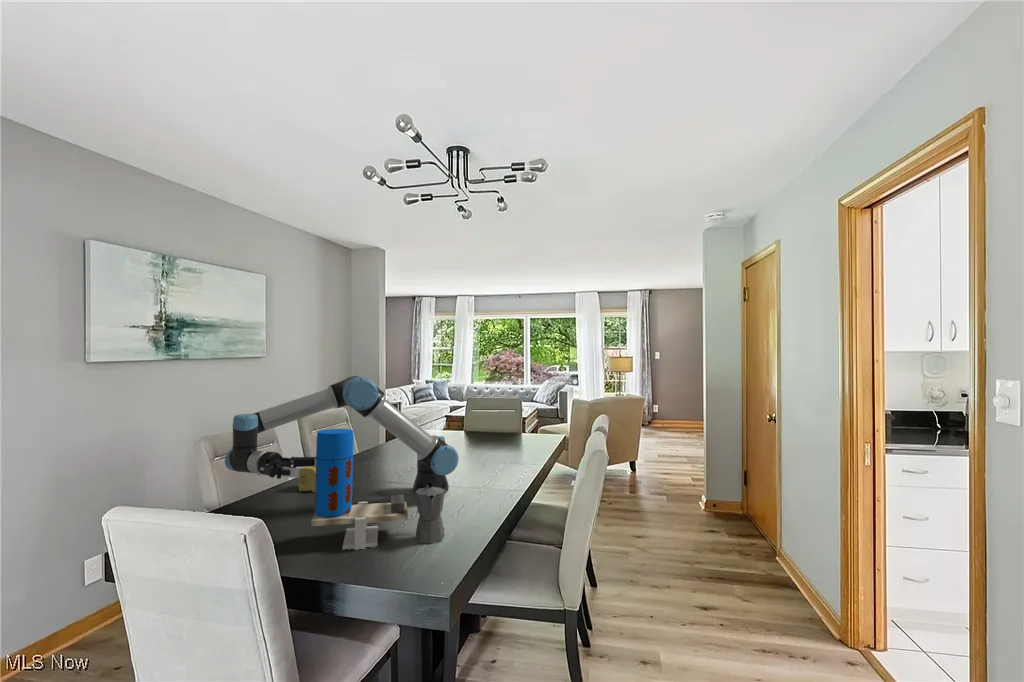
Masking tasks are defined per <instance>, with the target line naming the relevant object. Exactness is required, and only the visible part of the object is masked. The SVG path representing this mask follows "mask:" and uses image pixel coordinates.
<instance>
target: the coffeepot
mask: <svg viewBox="0 0 1024 682" xmlns="http://www.w3.org/2000/svg"><path fill="white" fill-rule="evenodd" d="M432 484H433V482H432V481H429V482H428V484H427V486H426V488H421V489H418V490H417V491H416V492H415V494H414V496H415V500H416V509H417V513H418V514H419V517H418V519H417V520H418V521H417V524H416V530H415V537H414V540H415V541H416V540H417V541H418V542H417V541H416V542H417V543H419V542H420V544H422V543H433V544H435V543H434V542H438V541H440V542H442V541H443V540H444V539H443V538H445V537H444V536H445V530H444V525H443V523H444V522H443V518H442V516H441V513H442V511H443V508H444V507H443V506H444V500H445V494H446V493H445V490H444V489H442V488H438V487H432ZM442 539H443V540H442ZM441 540H442V541H441ZM438 543H439V542H438Z"/></svg>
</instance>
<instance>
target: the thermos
mask: <svg viewBox="0 0 1024 682" xmlns="http://www.w3.org/2000/svg"><path fill="white" fill-rule="evenodd" d="M354 436H355V435H354V430H353V429H349V428H327V429H320V430H318V431H317V434H316V448H315V450H316V453H315V455H316V456H315V457H317V458H316V485H315V492H314V508H315V509H314V510H315V511H314V514H315V513H316V515H318V516H321V517H337V516H342V515H345V514H348V513H349V512H350V511H351V505H353V504H352V503H353V501H352V499H353V481H354V480H353V479H354V478H353V475H354V471H353V470H354V468H353V467H354V439H355V438H354Z"/></svg>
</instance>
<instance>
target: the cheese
mask: <svg viewBox="0 0 1024 682" xmlns="http://www.w3.org/2000/svg"><path fill="white" fill-rule="evenodd" d="M299 469H300V478H298V492H302V491H309V492H312V493H315V485H316V467H315V466H306V467H299Z"/></svg>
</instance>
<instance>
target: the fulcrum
mask: <svg viewBox="0 0 1024 682" xmlns="http://www.w3.org/2000/svg"><path fill="white" fill-rule="evenodd" d="M357 504H369V502H368V501H358V502H357ZM368 524H369V523H366V517H361V518H355V523H354V527H347V528H346V530H345V535H344V537H343V538H344V539H343V542H342V543H343V544H342V551H346V550H345V549H347V550H354V551H359V549H363V550H366V548H365V547H370V548H376V547H375V546H377V547H378V543H379V542H378V541H379V539H378V538H379V536H378V535H379V525H373V526H372V525H371V526H368Z"/></svg>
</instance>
